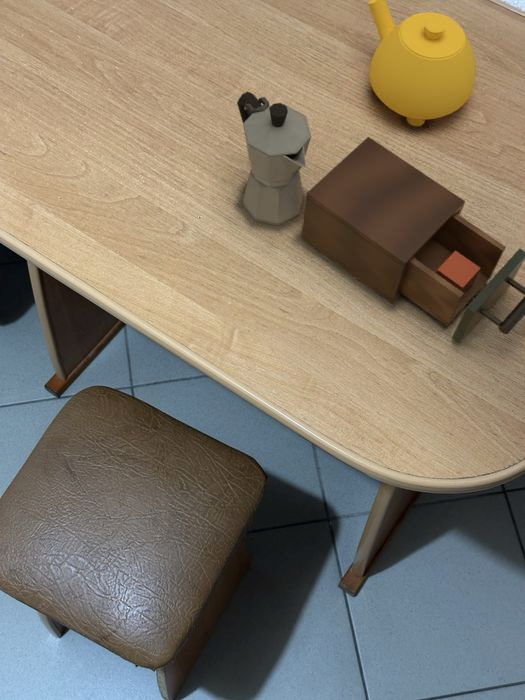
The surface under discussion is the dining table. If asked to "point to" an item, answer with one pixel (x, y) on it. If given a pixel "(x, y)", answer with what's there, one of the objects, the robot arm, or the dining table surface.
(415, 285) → the drawer
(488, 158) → the dining table surface
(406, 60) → the teapot
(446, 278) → the block
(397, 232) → the cabinet
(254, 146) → the coffee maker
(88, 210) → the dining table surface
